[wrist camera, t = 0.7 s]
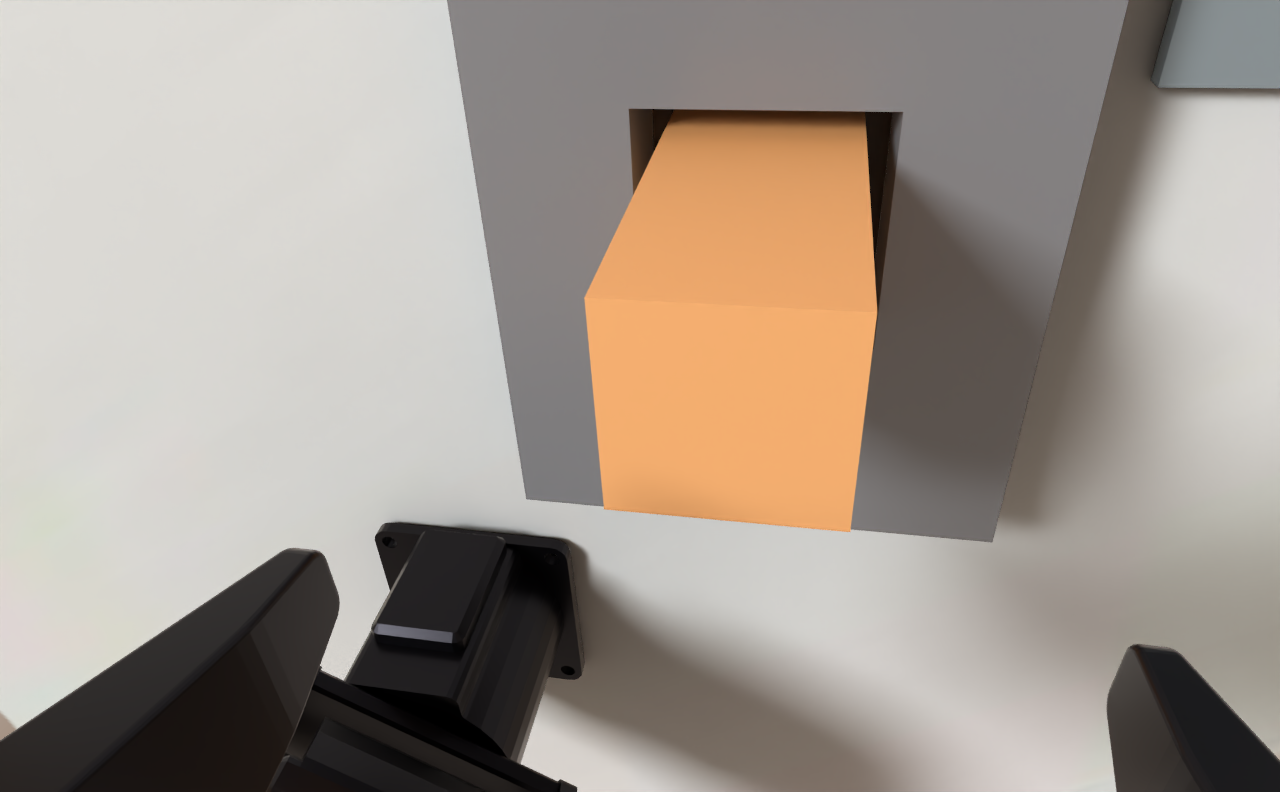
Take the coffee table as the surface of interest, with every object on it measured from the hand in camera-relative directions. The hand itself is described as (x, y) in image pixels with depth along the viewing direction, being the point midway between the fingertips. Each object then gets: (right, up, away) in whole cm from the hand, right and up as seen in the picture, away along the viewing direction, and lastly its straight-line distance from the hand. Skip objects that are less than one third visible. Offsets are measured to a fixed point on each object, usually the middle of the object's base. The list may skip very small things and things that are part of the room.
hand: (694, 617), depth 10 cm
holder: (+2, +7, +10) cm, 13 cm away
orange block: (+2, +7, +11) cm, 13 cm away
